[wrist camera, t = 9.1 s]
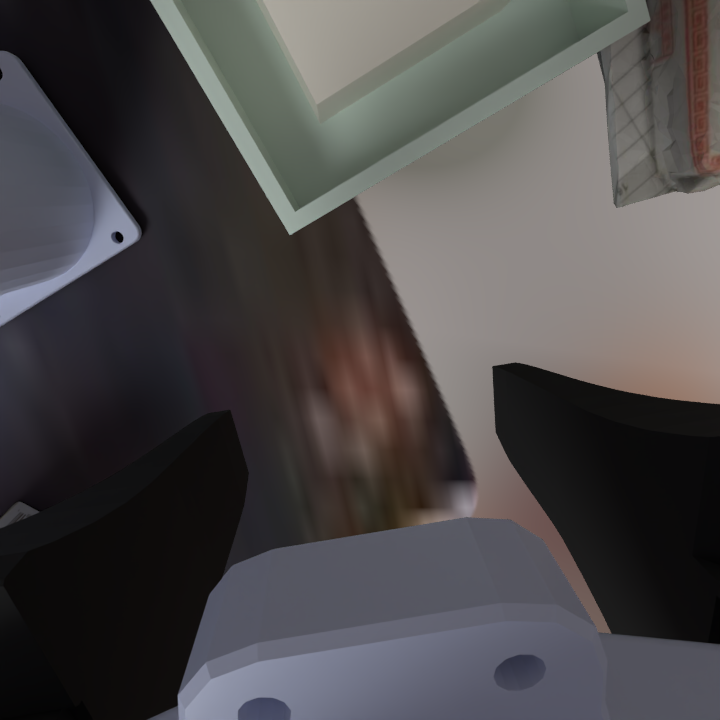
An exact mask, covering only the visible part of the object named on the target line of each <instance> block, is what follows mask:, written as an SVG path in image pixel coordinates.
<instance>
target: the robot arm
mask: <svg viewBox="0 0 720 720" xmlns="http://www.w3.org/2000/svg"><path fill="white" fill-rule="evenodd" d="M0 69H1V71H2V73H3V77H2V79H1V80H0V327H1V326H2V325H4V324H6V323H7V322H9V321H10V320H12V319H14V318H15V317H17V316H18V315H20V314H22V313H23V312H25V311H27V310H28V309H30V308H31V307H33V306H35V305H36V304H38V303H39V302H41V301H43V300H44V299H46V298H47V297H49V296H51V295H52V294H54V293H55V292H57V291H59V290H60V289H62V288H63V287H65V286H67V285H68V284H70V283H71V282H73V281H75V280H76V279H78V278H79V277H81V276H83V275H84V274H86V273H87V272H89V271H91V270H92V269H94V268H95V267H97V266H99V265H100V264H102V263H103V262H105V261H107V260H108V259H110V258H111V257H113V256H115V255H116V254H118V253H119V252H121V251H123V250H124V249H126V248H127V247H129V246H131V245H132V244H134V243H135V242H137V241H138V240H139V239H140V238H141V235H142V232H141V228H140V226H139V224H138V223H137V222H136V220H135V219H134V217H133V216H132V215H131V213H130V212H129V210H128V209H127V208H126V206H125V205H124V203H123V202H122V201H121V199H120V198H119V196H118V195H117V194H116V192H115V191H114V189H113V188H112V187H111V185H110V184H109V183H108V181H107V180H106V178H105V177H104V176H103V174H102V173H101V171H100V170H99V169H98V167H97V166H96V164H95V163H94V162H93V160H92V159H91V157H90V156H89V155H88V153H87V152H86V150H85V149H84V148H83V146H82V145H81V143H80V142H79V141H78V139H77V138H76V136H75V135H74V134H73V132H72V131H71V129H70V128H69V127H68V125H67V124H66V122H65V121H64V120H63V118H62V117H61V115H60V114H59V113H58V111H57V110H56V108H55V107H54V106H53V104H52V103H51V101H50V100H49V99H48V97H47V96H46V94H45V93H44V92H43V90H42V89H41V87H40V86H39V85H38V83H37V82H36V80H35V79H34V78H33V76H32V75H31V73H30V72H29V71H28V69H27V68H26V66H25V65H24V64H23V62H22V61H21V60H20V59H19V58H18V57H17V56H15V55H13V54H11V53H9V52H7V51H0ZM117 231H118V232H120V233H121V234H122V235H123V237H124V239H123V242H122V243H121V242H118V241H117V240H116V237H115V234H116V232H117ZM492 368H493V387H494V407H495V425H496V426H495V427H496V434H497V436H498V438H499V440H500V442H501V444H502V446H503V448H504V451H505V452H506V454H507V456H508V458H509V460H510V462H511V463H512V465H513V466H514V468H515V469H516V471H517V472H518V474H519V475H520V477H521V478H522V480H523V481H524V482H525V484H526V485H527V487H528V488H529V490H530V491H531V493H532V494H533V495H534V497H535V498H536V500H537V501H538V503H539V504H540V505H541V507H542V508H543V510H544V511H545V513H546V514H547V516H548V517H549V518H550V520H551V521H552V523H553V524H554V526H555V527H556V529H557V531H558V532H559V534H560V535H561V537H562V538H563V540H564V542H565V544H566V546H567V548H568V549H569V551H570V553H571V555H572V557H573V558H574V561H575V562H576V564H577V566H578V568H579V570H580V571H581V573H582V575H583V577H584V579H585V581H586V583H587V585H588V587H589V589H590V591H591V593H592V595H593V596H594V599H595V601H596V603H597V604H598V607H599V608H600V610H601V612H602V614H603V616H604V618H605V621H606V622H607V625H608V627H609V629H610V631H611V633H612V634H609V633H599V632H597V628H596V626H595V624H594V623H593V621H592V620H591V618H590V616H589V615H588V613H587V611H586V610H585V608H584V606H583V605H582V604H581V601H580V600H579V598H578V597H577V595H576V593H575V592H574V590H573V588H572V587H571V585H570V583H569V582H568V580H567V578H566V577H565V575H564V574H563V572H562V570H561V569H560V567H559V565H558V564H557V562H556V561H555V559H554V557H553V556H552V554H551V552H550V551H549V549H548V547H547V546H546V544H545V542H544V541H543V539H541V538H539V537H538V536H536V535H535V534H533V533H531V532H530V531H528V530H527V529H525V528H523V527H522V526H520V525H518V524H517V523H515V522H514V521H512V520H508V519H507V520H506V519H488V518H487V519H486V518H468V517H466V518H460V519H454V520H447V521H441V522H435V523H429V524H423V525H417V526H411V527H405V528H399V529H393V530H387V531H381V532H375V533H369V534H363V535H357V536H350V537H344V538H338V539H332V540H326V541H320V542H314V543H308V544H302V545H296V546H290V547H284V548H278V549H273V550H270V551H268V552H265V553H263V554H260V555H258V556H255V557H252V558H250V559H247V560H245V561H242V562H240V563H237V564H235V565H232V567H231V568H230V569H229V570H228V572H227V573H226V574H225V575H224V577H223V578H222V576H223V573H224V570H225V566H226V563H227V560H228V557H229V553H230V550H231V547H232V544H233V540H234V537H235V534H236V531H237V527H238V524H239V521H240V517H241V514H242V510H243V507H244V503H245V496H246V490H247V482H248V474H249V472H248V469H247V465H246V462H245V459H244V455H243V452H242V448H241V445H240V442H239V438H238V435H237V431H236V428H235V424H234V421H233V418H232V414H231V411H230V410H226V411H220V412H214V413H208V414H206V415H204V416H202V417H200V418H198V419H197V420H195V421H194V422H192V423H191V424H189V425H188V426H186V427H185V428H183V429H182V430H180V431H179V432H178V433H176V434H175V435H173V436H172V437H170V438H169V439H168V440H166V441H165V442H163V443H162V444H160V445H159V446H158V447H156V448H155V449H153V450H152V451H150V452H148V453H147V454H145V455H144V456H142V457H141V458H139V459H138V460H136V461H135V462H133V463H132V464H130V465H129V466H127V467H125V468H124V469H122V470H121V471H119V472H117V473H116V474H114V475H112V476H110V477H109V478H107V479H105V480H103V481H102V482H100V483H98V484H96V485H94V486H92V487H91V488H89V489H87V490H85V491H83V492H81V493H79V494H77V495H75V496H73V497H71V498H69V499H67V500H64V501H62V502H60V503H58V504H56V505H54V506H51V507H49V508H47V509H45V510H43V511H41V512H39V513H36V514H34V515H32V516H30V517H27V518H25V519H22V520H20V521H17V522H15V523H12V524H10V525H8V526H5V527H3V528H0V720H720V404H710V403H700V402H689V401H680V400H671V399H665V398H657V397H651V396H646V395H640V394H635V393H629V392H624V391H619V390H615V389H611V388H607V387H603V386H599V385H595V384H591V383H587V382H584V381H580V380H577V379H573V378H570V377H567V376H563V375H560V374H557V373H553V372H550V371H547V370H543V369H540V368H537V367H533V366H529V365H525V364H521V363H510V364H504V365H498V366H493V367H492Z"/></svg>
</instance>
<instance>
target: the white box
mask: <svg viewBox="0 0 720 720" xmlns="http://www.w3.org/2000/svg"><path fill="white" fill-rule="evenodd" d="M510 1H511V0H256V2H257V4H258V6H259V7H260V9H261V11H262V13H263V15H264V17H265V19H266V21H267V23H268V25H269V27H270V29H271V30H272V32H273V34H274V36H275V38H276V40H277V42H278V44H279V46H280V48H281V50H282V52H283V54H284V55H285V57H286V59H287V61H288V63H289V65H290V67H291V69H292V71H293V73H294V75H295V77H296V78H297V80H298V82H299V84H300V86H301V88H302V90H303V92H304V94H305V96H306V98H307V100H308V101H309V103H310V105H311V107H312V109H313V111H314V113H315V115H316V117H317V119H318V121H319V123H320V124H321V123H323V122H324V121H326V120H328V119H329V118H331V117H332V116H334V115H336V114H337V113H339V112H340V111H342V110H344V109H345V108H347V107H348V106H350V105H352V104H353V103H355V102H356V101H358V100H360V99H361V98H363V97H364V96H366V95H368V94H369V93H371V92H372V91H374V90H376V89H377V88H379V87H380V86H382V85H384V84H385V83H387V82H388V81H390V80H392V79H393V78H395V77H396V76H398V75H400V74H401V73H403V72H404V71H406V70H408V69H409V68H411V67H412V66H414V65H416V64H417V63H419V62H420V61H422V60H424V59H425V58H427V57H428V56H430V55H432V54H433V53H435V52H436V51H438V50H440V49H441V48H443V47H444V46H446V45H448V44H449V43H451V42H452V41H454V40H456V39H457V38H459V37H460V36H462V35H464V34H465V33H467V32H468V31H470V30H472V29H473V28H475V27H476V26H478V25H480V24H481V23H483V22H484V21H486V20H488V19H489V18H491V17H492V16H494V15H496V14H497V13H499V12H500V11H502V10H503V8H504V7H505V6H506V5H507V4H508V3H509V2H510Z"/></svg>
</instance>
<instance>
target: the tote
mask: <svg viewBox="0 0 720 720" xmlns="http://www.w3.org/2000/svg"><path fill="white" fill-rule="evenodd" d="M150 1H151V3H152V4H153V6H154V8H155V9H156V11H157V13H158V14H159V16H160V18H161V19H162V21H163V23H164V24H165V26H166V28H167V29H168V31H169V33H170V34H171V36H172V38H173V40H174V41H175V43H176V45H177V46H178V48H179V50H180V51H181V53H182V55H183V56H184V58H185V60H186V61H187V63H188V65H189V66H190V68H191V70H192V71H193V73H194V75H195V76H196V78H197V80H198V82H199V83H200V85H201V87H202V88H203V90H204V92H205V93H206V95H207V97H208V98H209V100H210V102H211V103H212V105H213V107H214V108H215V110H216V112H217V113H218V115H219V117H220V119H221V120H222V122H223V124H224V125H225V127H226V129H227V130H228V132H229V134H230V135H231V137H232V139H233V140H234V142H235V144H236V145H237V147H238V149H239V150H240V152H241V154H242V156H243V157H244V159H245V161H246V162H247V164H248V166H249V167H250V169H251V171H252V172H253V174H254V176H255V177H256V179H257V181H258V182H259V184H260V186H261V187H262V189H263V191H264V192H265V194H266V196H267V198H268V199H269V201H270V203H271V204H272V206H273V208H274V209H275V211H276V213H277V214H278V216H279V218H280V219H281V221H282V223H283V224H284V226H285V228H286V229H287V231H288V233H289V235H291V234H293V233H294V232H296V231H298V230H299V229H301V228H303V227H304V226H306V225H308V224H309V223H311V222H313V221H314V220H316V219H318V218H320V217H321V216H323V215H325V214H326V213H328V212H330V211H331V210H333V209H335V208H336V207H338V206H340V205H341V204H343V203H345V202H346V201H348V200H350V199H351V198H353V197H355V196H357V195H358V194H360V193H361V192H363V191H365V190H367V189H368V188H370V187H372V186H373V185H375V184H377V183H378V182H380V181H382V180H383V179H385V178H387V177H388V176H390V175H392V174H393V173H395V172H397V171H399V170H400V169H402V168H404V167H405V166H407V165H408V164H410V163H412V162H414V161H415V160H417V159H419V158H420V157H422V156H424V155H425V154H427V153H429V152H431V151H432V150H434V149H436V148H437V147H439V146H441V145H442V144H444V143H446V142H447V141H449V140H451V139H452V138H454V137H456V136H457V135H459V134H460V133H462V132H464V131H466V130H467V129H469V128H470V127H472V126H474V125H476V124H478V123H479V122H481V121H483V120H484V119H486V118H488V117H489V116H491V115H493V114H494V113H496V112H498V111H499V110H501V109H503V108H505V107H506V106H508V105H509V104H511V103H513V102H515V101H516V100H518V99H520V98H521V97H523V96H525V95H526V94H528V93H530V92H531V91H533V90H535V89H536V88H538V87H540V86H542V85H543V84H545V83H546V82H548V81H550V80H552V79H553V78H555V77H557V76H558V75H560V74H562V73H563V72H565V71H567V70H568V69H570V68H572V67H573V66H575V65H577V64H579V63H580V62H582V61H584V60H585V59H587V58H589V57H590V56H592V55H593V54H595V53H597V52H599V51H600V50H602V49H604V48H605V47H607V46H609V45H610V44H612V43H614V42H616V41H617V40H619V39H621V38H622V37H624V36H626V35H627V34H629V33H631V32H632V31H634V30H636V29H637V28H639V27H641V26H642V25H644V24H646V23H647V22H649V21H651V20H650V16H649V12H648V8H647V4H646V0H511V1H510V2H509V3H508V4H507V5H506V6H505V7H504V8H503V10H502V11H500V12H499V13H497V14H496V15H494V16H492V17H491V18H489V19H488V20H486V21H484V22H483V23H481V24H480V25H478V26H476V27H475V28H473V29H472V30H470V31H468V32H467V33H465V34H464V35H462V36H460V37H459V38H457V39H456V40H454V41H452V42H451V43H449V44H448V45H446V46H444V47H443V48H441V49H440V50H438V51H436V52H435V53H433V54H432V55H430V56H428V57H427V58H425V59H424V60H422V61H420V62H419V63H417V64H416V65H414V66H412V67H411V68H409V69H408V70H406V71H404V72H403V73H401V74H400V75H398V76H396V77H395V78H393V79H392V80H390V81H388V82H387V83H385V84H384V85H382V86H380V87H379V88H377V89H376V90H374V91H372V92H371V93H369V94H368V95H366V96H364V97H363V98H361V99H360V100H358V101H356V102H355V103H353V104H352V105H350V106H348V107H347V108H345V109H344V110H342V111H340V112H339V113H337V114H336V115H334V116H332V117H331V118H329V119H328V120H326V121H324V122H323V123H321V124H320V123H319V121H318V119H317V117H316V115H315V113H314V111H313V109H312V107H311V105H310V103H309V101H308V100H307V98H306V96H305V94H304V92H303V90H302V88H301V86H300V84H299V82H298V80H297V78H296V77H295V75H294V73H293V71H292V69H291V67H290V65H289V63H288V61H287V59H286V57H285V55H284V54H283V52H282V50H281V48H280V46H279V44H278V42H277V40H276V38H275V36H274V34H273V32H272V30H271V29H270V27H269V25H268V23H267V21H266V19H265V17H264V15H263V13H262V11H261V9H260V7H259V6H258V4H257V2H256V0H150Z"/></svg>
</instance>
